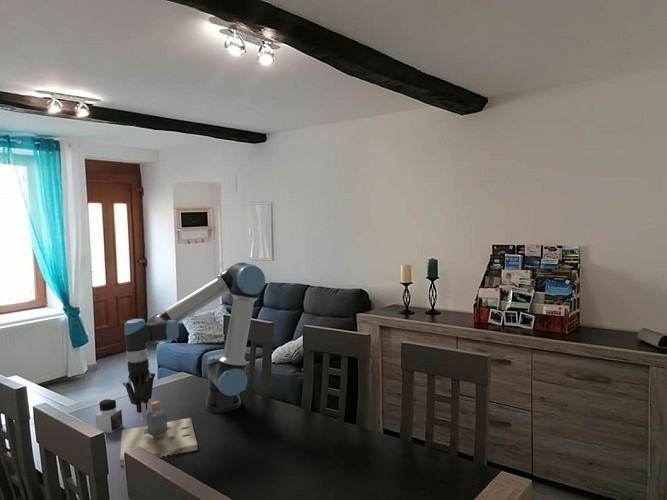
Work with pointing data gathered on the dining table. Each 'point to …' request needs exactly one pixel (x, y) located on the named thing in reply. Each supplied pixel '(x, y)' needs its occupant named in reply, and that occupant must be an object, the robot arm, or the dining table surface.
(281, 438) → the dining table surface
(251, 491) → the dining table surface
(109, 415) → the medicine bottle
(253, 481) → the dining table surface
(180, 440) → the base board
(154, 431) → the uneven dumbbell rattle
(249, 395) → the dining table surface
